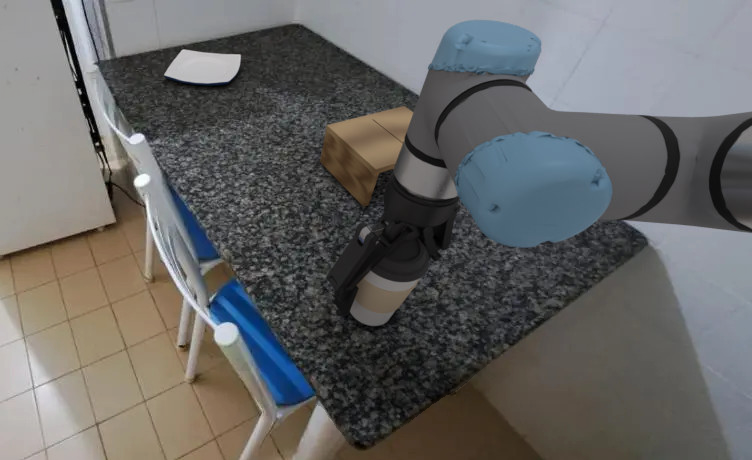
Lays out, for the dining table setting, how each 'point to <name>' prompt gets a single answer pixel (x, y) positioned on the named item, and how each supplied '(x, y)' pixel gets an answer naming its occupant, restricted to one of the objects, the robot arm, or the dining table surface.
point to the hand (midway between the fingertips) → (374, 294)
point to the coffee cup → (390, 283)
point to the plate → (203, 68)
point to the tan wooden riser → (364, 149)
